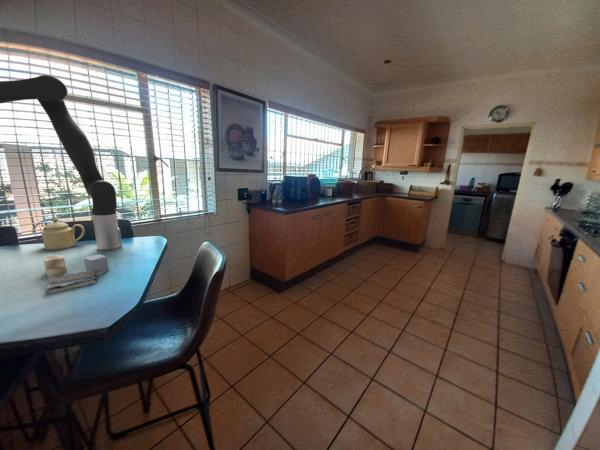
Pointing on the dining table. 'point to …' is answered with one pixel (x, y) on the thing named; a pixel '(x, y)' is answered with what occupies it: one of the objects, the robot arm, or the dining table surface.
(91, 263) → the slate block
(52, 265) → the beech block
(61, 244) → the yellow teapot
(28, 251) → the dining table surface
